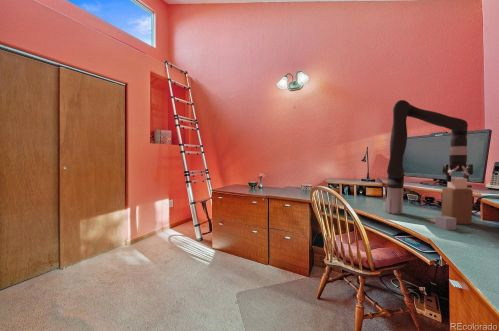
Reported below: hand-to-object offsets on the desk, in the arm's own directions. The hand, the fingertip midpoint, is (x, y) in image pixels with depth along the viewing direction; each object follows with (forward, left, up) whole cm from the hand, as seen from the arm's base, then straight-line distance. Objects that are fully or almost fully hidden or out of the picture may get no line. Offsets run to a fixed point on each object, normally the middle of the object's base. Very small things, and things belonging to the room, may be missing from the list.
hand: (457, 181), depth 129 cm
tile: (-11, -1, -24) cm, 26 cm away
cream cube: (0, 0, -4) cm, 4 cm away
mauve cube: (-14, -13, -24) cm, 30 cm away
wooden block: (0, 0, -24) cm, 24 cm away
